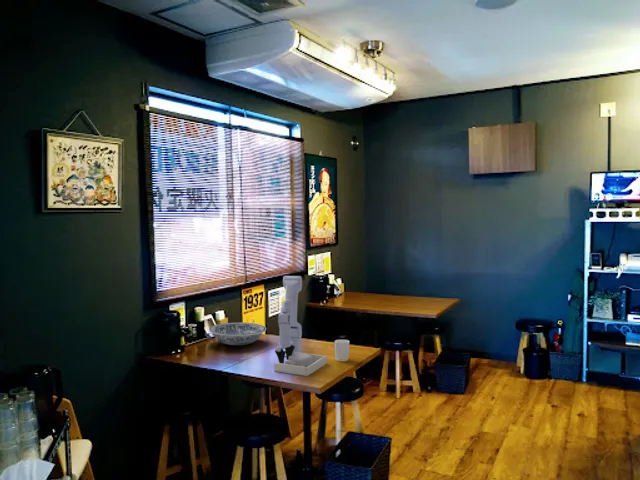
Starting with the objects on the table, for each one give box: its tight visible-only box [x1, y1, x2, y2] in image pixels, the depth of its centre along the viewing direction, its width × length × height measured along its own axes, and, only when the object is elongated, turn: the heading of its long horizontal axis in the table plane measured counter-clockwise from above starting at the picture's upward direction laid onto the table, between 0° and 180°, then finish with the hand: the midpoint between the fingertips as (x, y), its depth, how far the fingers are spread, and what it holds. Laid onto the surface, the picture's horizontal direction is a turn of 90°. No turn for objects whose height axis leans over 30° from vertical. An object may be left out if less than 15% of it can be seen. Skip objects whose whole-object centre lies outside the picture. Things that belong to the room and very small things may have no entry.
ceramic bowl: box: [208, 321, 267, 346], centre depth 294 cm, size 34×34×10 cm
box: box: [273, 352, 328, 377], centre depth 247 cm, size 22×18×4 cm
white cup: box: [334, 339, 350, 362], centre depth 260 cm, size 8×8×10 cm
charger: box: [284, 352, 314, 367], centre depth 250 cm, size 5×9×15 cm
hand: (285, 361), depth 251 cm, fingers open, 7 cm apart
